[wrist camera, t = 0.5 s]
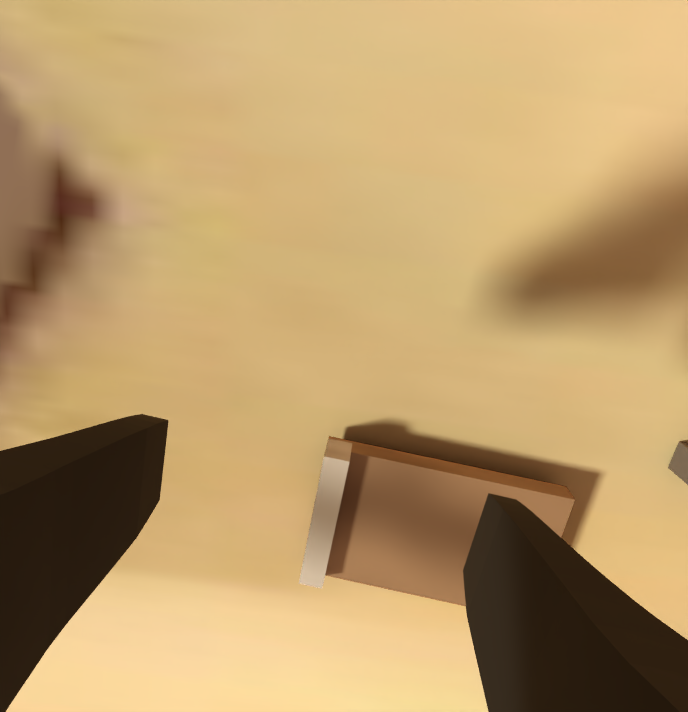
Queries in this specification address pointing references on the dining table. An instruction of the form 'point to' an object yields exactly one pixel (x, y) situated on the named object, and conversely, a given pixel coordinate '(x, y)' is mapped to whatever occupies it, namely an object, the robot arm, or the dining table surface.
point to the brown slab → (409, 518)
